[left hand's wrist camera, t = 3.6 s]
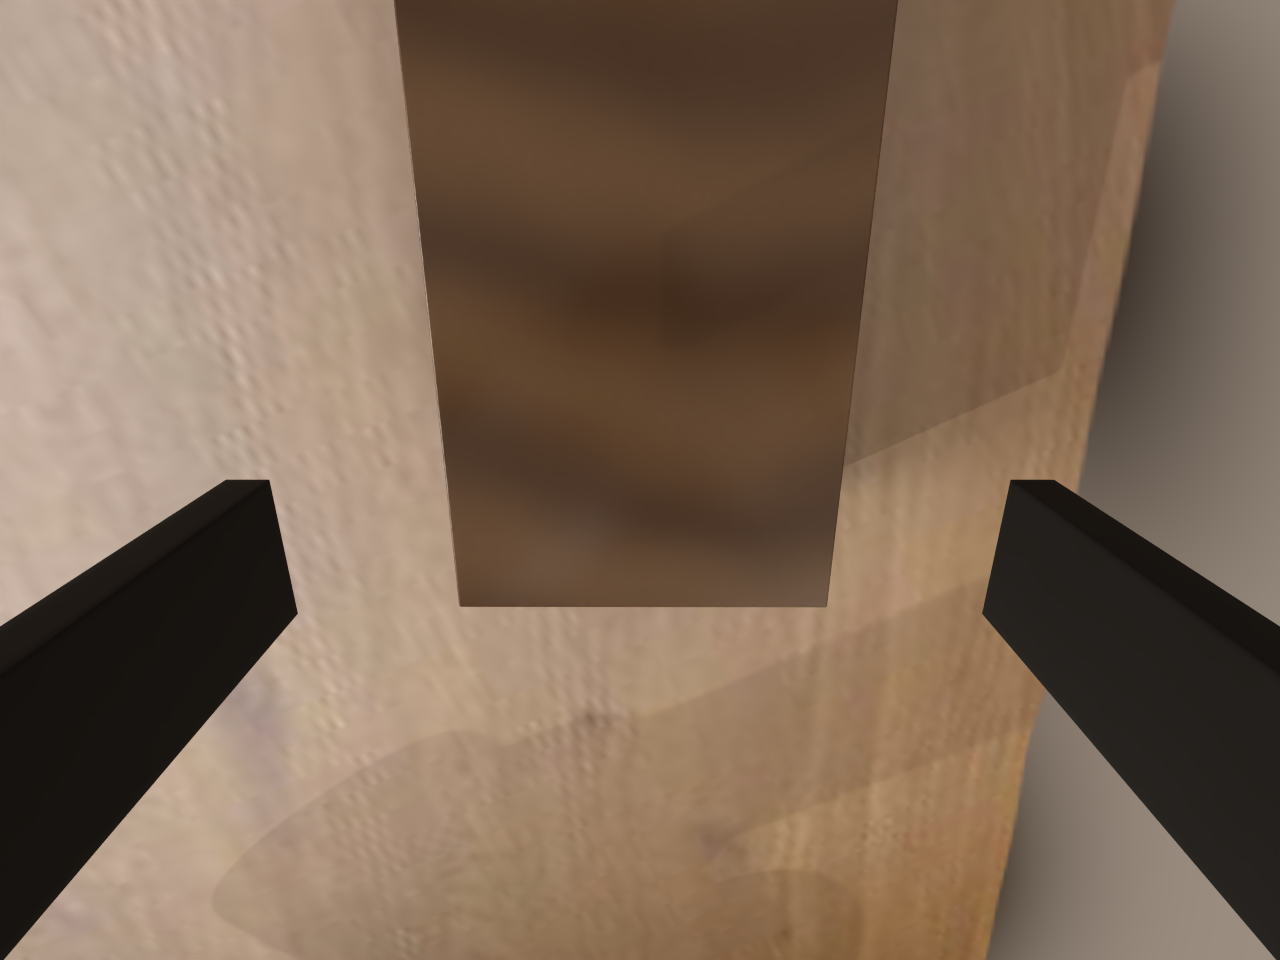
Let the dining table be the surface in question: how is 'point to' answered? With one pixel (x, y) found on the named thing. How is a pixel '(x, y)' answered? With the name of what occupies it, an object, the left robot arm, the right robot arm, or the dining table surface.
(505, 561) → the cabinet
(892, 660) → the dining table surface
